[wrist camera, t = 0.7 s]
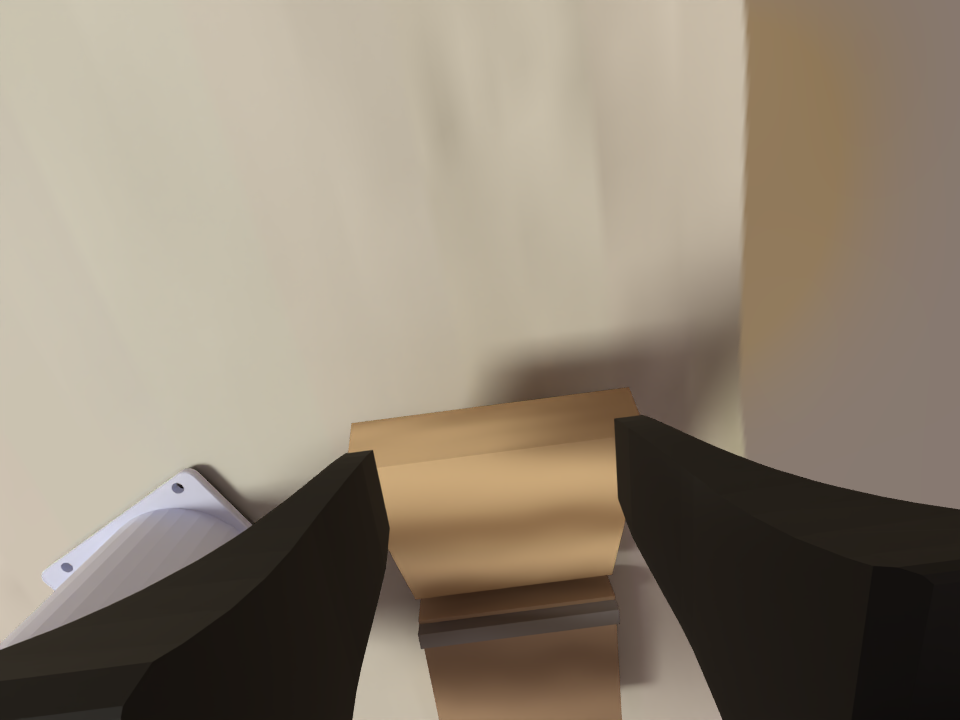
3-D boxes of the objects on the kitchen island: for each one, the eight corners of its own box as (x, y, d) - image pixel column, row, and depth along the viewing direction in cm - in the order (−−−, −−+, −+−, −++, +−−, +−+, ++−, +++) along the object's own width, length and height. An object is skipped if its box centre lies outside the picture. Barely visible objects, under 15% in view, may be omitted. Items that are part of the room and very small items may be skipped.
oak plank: (601, 536, 24) (612, 574, 23) (415, 560, 24) (415, 599, 23) (628, 387, 16) (646, 432, 15) (351, 423, 16) (345, 471, 15)
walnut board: (610, 686, 27) (625, 734, 25) (445, 706, 27) (444, 757, 25) (603, 565, 25) (619, 606, 22) (421, 588, 25) (417, 631, 22)
